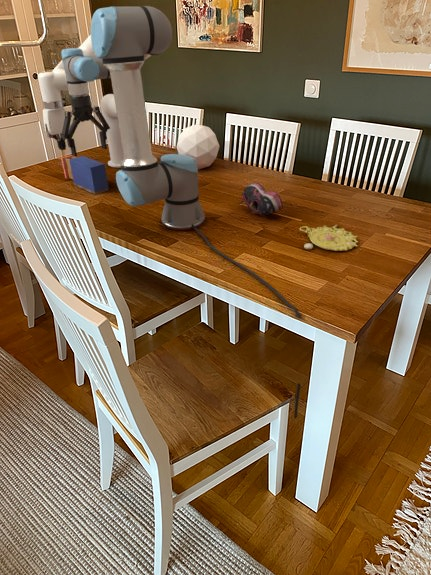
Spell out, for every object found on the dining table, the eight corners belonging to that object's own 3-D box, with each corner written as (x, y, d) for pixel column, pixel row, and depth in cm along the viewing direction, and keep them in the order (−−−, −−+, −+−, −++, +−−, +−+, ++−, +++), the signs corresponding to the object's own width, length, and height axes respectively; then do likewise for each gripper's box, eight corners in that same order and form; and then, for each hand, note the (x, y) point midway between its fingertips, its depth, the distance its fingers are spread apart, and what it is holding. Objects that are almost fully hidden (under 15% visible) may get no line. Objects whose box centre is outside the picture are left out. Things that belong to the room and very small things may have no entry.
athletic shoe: (254, 181, 170) (227, 189, 167) (283, 176, 151) (253, 185, 147) (260, 210, 173) (234, 218, 170) (290, 209, 154) (261, 219, 150)
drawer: (58, 175, 201) (54, 154, 196) (69, 172, 204) (65, 152, 199) (83, 186, 188) (79, 164, 183) (94, 183, 191) (90, 161, 186)
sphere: (204, 184, 208) (201, 158, 189) (171, 163, 213) (165, 136, 194) (227, 156, 213) (227, 128, 194) (194, 137, 217) (191, 107, 199)
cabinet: (74, 185, 192) (69, 159, 186) (87, 181, 196) (82, 155, 190) (95, 194, 182) (90, 167, 176) (108, 190, 186) (104, 163, 180)
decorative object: (343, 255, 128) (285, 234, 139) (342, 262, 130) (284, 241, 140) (372, 230, 142) (317, 213, 152) (371, 237, 143) (316, 219, 153)
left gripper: (65, 101, 191) (73, 144, 201) (32, 106, 182) (42, 151, 192) (74, 103, 186) (82, 147, 196) (40, 109, 178) (50, 154, 188)
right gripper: (102, 89, 176) (111, 143, 187) (43, 98, 161) (56, 156, 173) (113, 91, 171) (121, 147, 183) (53, 101, 157) (66, 160, 168)
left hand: (62, 149), depth 194 cm, fingers closed
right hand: (89, 152), depth 178 cm, fingers open, 13 cm apart
